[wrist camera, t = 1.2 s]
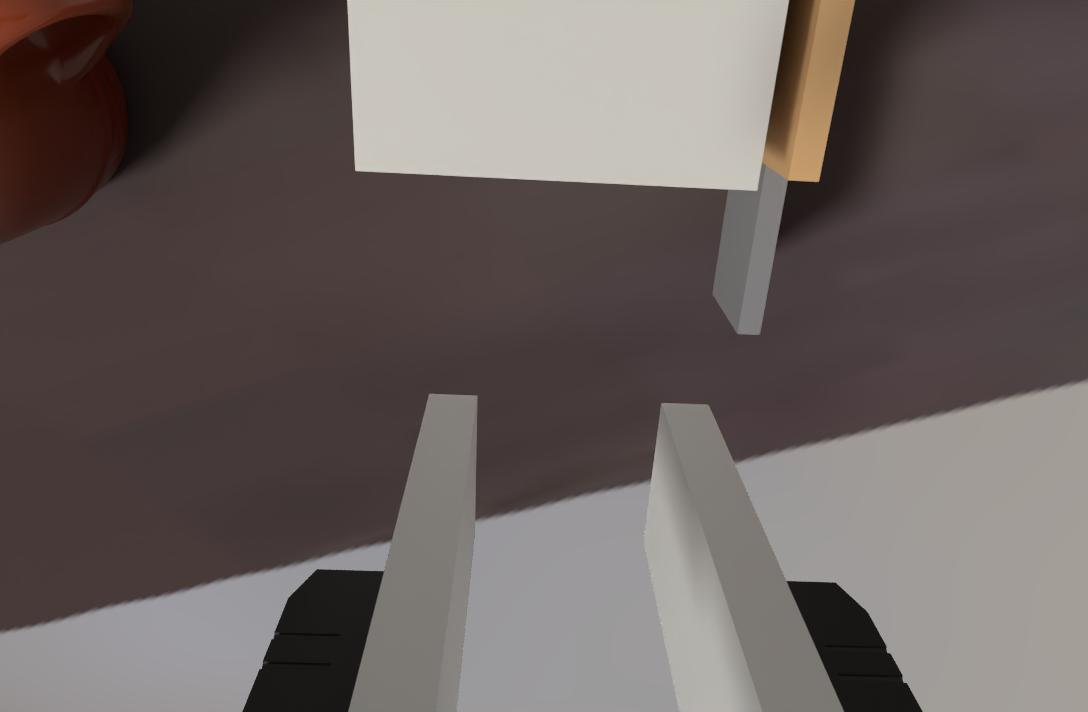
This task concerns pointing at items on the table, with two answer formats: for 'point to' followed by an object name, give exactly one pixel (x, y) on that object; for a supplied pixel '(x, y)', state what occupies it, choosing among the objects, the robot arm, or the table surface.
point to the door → (782, 155)
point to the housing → (566, 89)
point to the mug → (57, 108)
